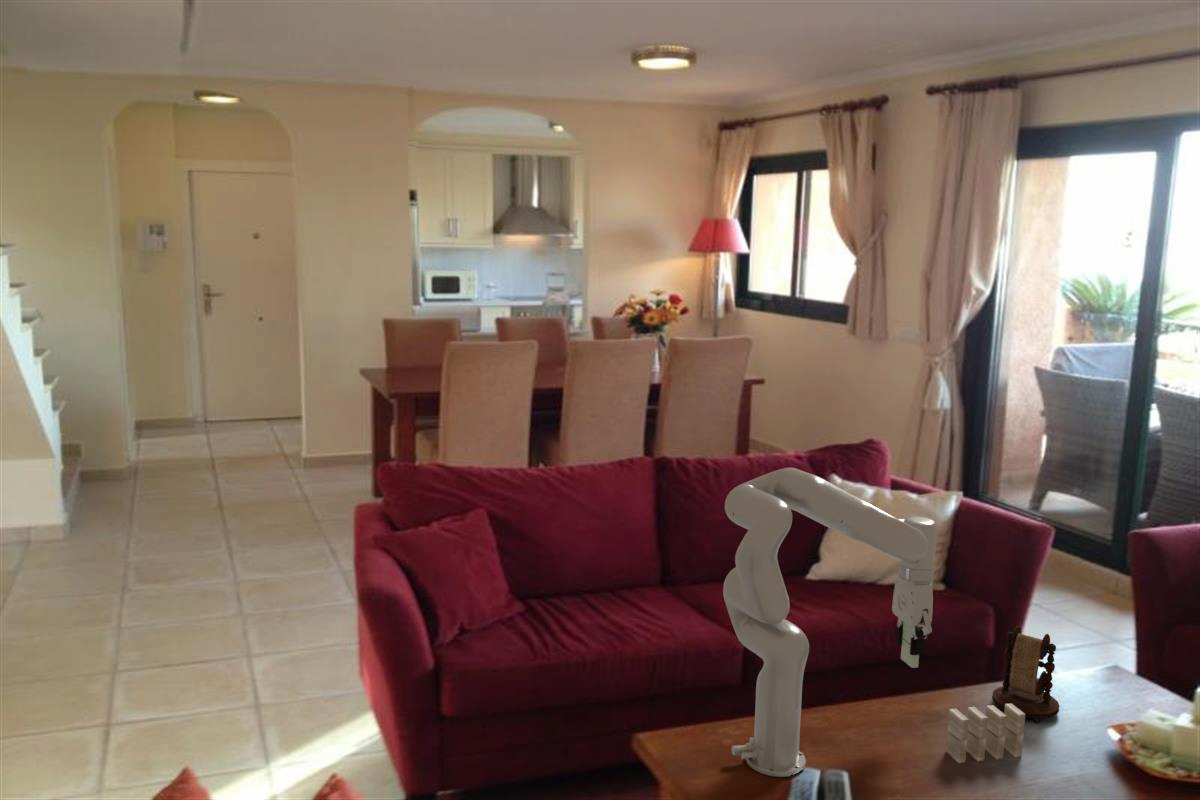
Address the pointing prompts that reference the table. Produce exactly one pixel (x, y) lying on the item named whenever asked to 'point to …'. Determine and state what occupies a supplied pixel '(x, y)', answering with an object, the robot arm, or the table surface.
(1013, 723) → the domino
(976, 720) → the domino
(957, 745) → the domino
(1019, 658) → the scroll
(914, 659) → the domino
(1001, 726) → the domino
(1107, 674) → the table surface
